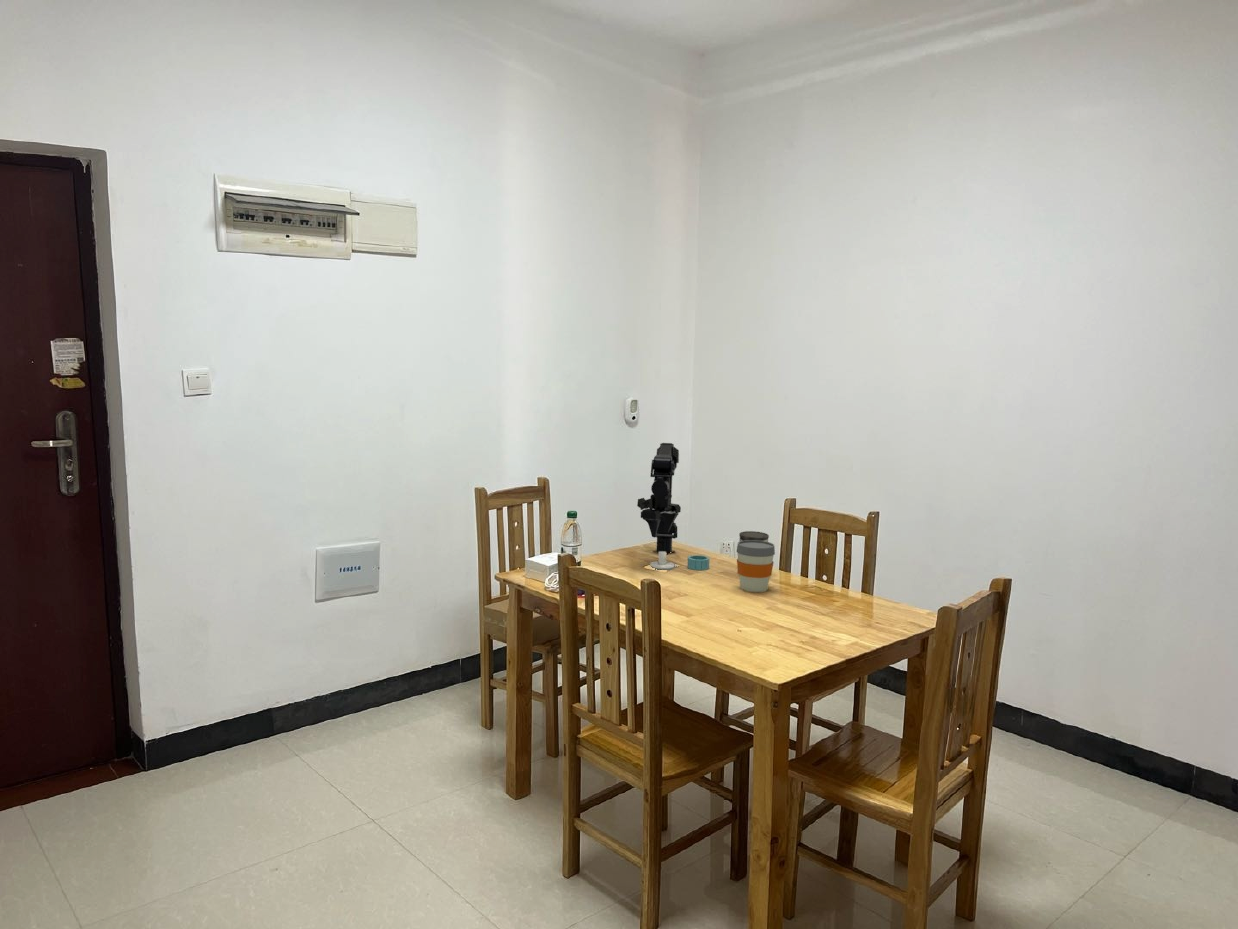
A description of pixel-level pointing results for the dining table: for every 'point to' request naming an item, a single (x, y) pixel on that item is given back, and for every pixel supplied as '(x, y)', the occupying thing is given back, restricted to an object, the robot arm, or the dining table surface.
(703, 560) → the bowl
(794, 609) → the dining table surface
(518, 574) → the dining table surface
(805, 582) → the dining table surface
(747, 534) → the coffee can
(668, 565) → the lid
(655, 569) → the mat
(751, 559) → the reusable coffee cup
